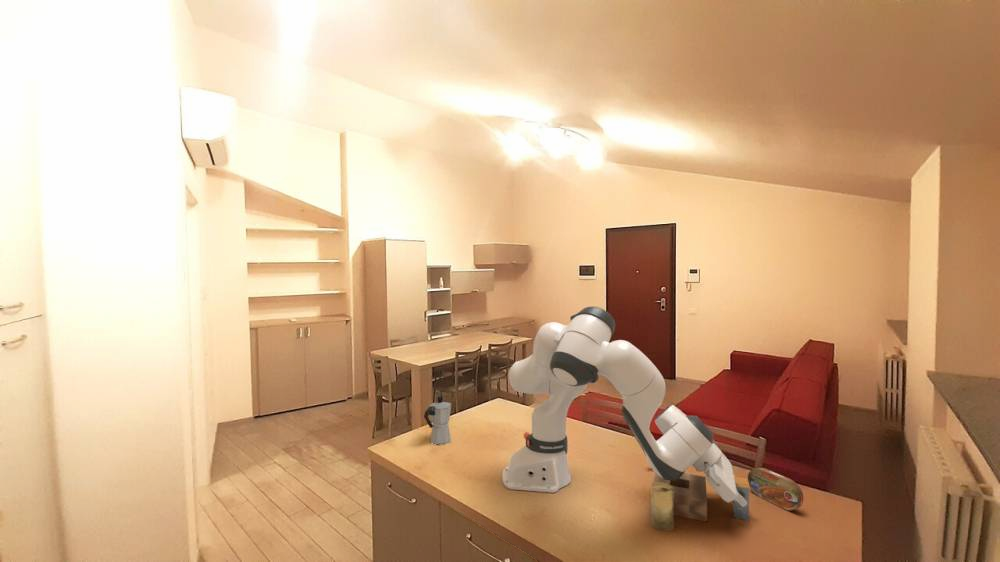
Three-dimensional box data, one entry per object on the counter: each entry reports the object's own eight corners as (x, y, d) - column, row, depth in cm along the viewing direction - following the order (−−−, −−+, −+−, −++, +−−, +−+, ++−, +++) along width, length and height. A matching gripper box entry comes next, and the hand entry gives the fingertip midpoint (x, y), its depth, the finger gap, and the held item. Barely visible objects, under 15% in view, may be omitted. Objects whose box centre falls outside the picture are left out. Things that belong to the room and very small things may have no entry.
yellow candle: (655, 530, 111) (655, 493, 111) (648, 518, 117) (648, 482, 116) (677, 530, 111) (677, 492, 111) (668, 517, 117) (668, 482, 117)
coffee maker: (443, 433, 178) (443, 390, 178) (459, 438, 173) (458, 394, 173) (417, 445, 166) (416, 399, 166) (433, 451, 161) (432, 403, 161)
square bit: (734, 518, 116) (734, 482, 116) (733, 511, 120) (733, 476, 119) (749, 521, 115) (749, 484, 115) (747, 514, 118) (747, 478, 118)
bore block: (652, 510, 121) (652, 489, 120) (655, 487, 133) (655, 468, 133) (706, 521, 115) (707, 499, 115) (705, 496, 128) (705, 476, 127)
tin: (746, 491, 131) (747, 463, 130) (753, 488, 132) (753, 461, 132) (798, 516, 117) (798, 486, 117) (805, 514, 118) (805, 484, 118)
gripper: (715, 465, 110) (758, 511, 106) (711, 436, 129) (748, 474, 125) (696, 478, 112) (738, 524, 108) (695, 448, 131) (731, 486, 127)
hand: (743, 497), depth 117 cm, fingers open, 6 cm apart
